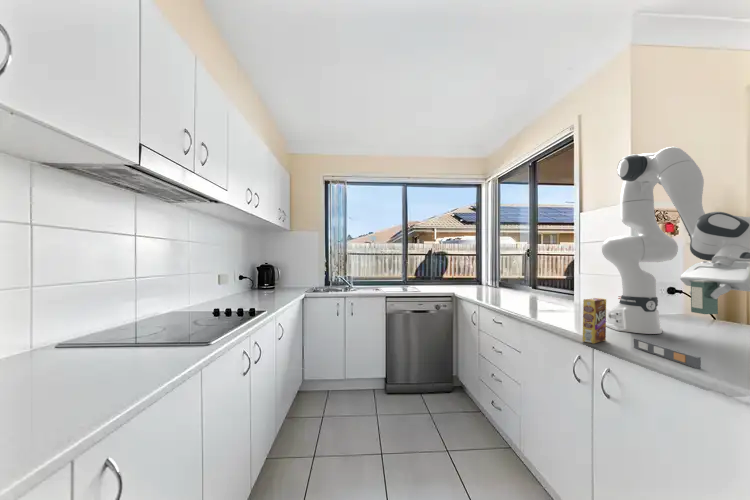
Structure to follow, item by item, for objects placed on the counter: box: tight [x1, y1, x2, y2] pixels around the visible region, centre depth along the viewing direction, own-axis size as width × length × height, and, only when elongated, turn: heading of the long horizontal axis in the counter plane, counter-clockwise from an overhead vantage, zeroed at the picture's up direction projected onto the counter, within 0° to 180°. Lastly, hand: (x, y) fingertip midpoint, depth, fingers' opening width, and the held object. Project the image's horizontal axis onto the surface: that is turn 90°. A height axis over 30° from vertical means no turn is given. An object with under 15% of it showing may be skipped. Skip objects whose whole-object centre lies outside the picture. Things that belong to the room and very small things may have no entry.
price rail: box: [633, 337, 702, 369], centre depth 108 cm, size 22×1×3 cm, turn 3°
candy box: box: [582, 297, 607, 345], centre depth 127 cm, size 9×4×15 cm, turn 123°
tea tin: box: [690, 280, 719, 315], centre depth 102 cm, size 4×4×9 cm
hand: (701, 296), depth 102 cm, fingers closed on tea tin, 4 cm apart
